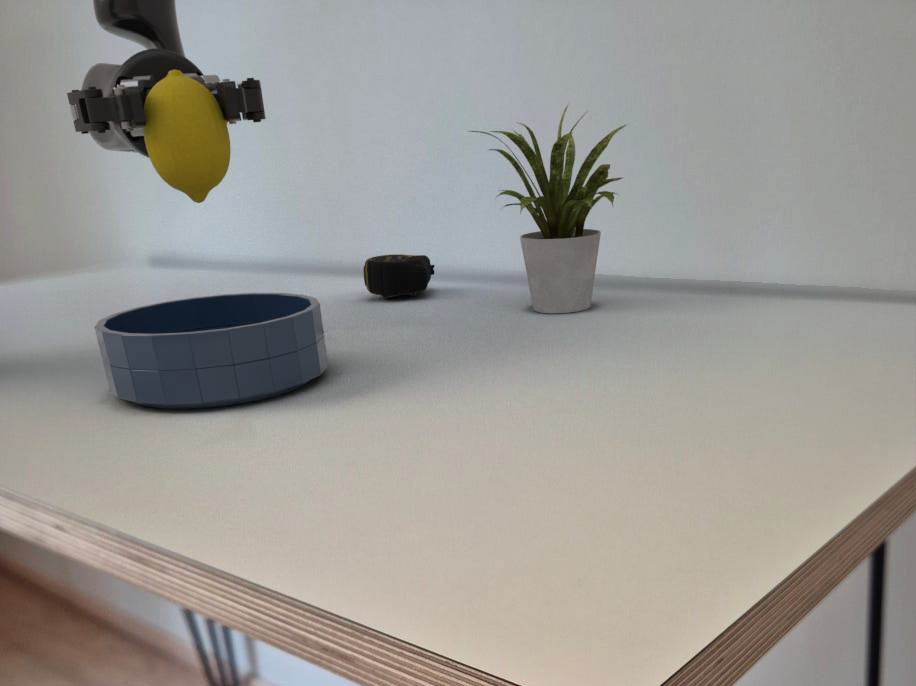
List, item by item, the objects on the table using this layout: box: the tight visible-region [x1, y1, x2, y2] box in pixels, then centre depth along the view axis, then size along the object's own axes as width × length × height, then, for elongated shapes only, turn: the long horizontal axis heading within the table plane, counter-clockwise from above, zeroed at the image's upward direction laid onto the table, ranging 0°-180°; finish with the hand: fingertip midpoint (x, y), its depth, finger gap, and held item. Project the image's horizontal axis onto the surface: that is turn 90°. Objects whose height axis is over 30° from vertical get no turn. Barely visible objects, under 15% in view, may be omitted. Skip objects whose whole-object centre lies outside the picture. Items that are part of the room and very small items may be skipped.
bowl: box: [94, 292, 329, 410], centre depth 68 cm, size 15×15×5 cm
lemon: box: [143, 70, 231, 204], centre depth 65 cm, size 6×6×8 cm
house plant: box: [468, 101, 629, 314], centre depth 83 cm, size 14×14×16 cm
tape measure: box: [363, 253, 435, 300], centre depth 98 cm, size 7×7×4 cm
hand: (185, 103), depth 62 cm, fingers closed on lemon, 5 cm apart
